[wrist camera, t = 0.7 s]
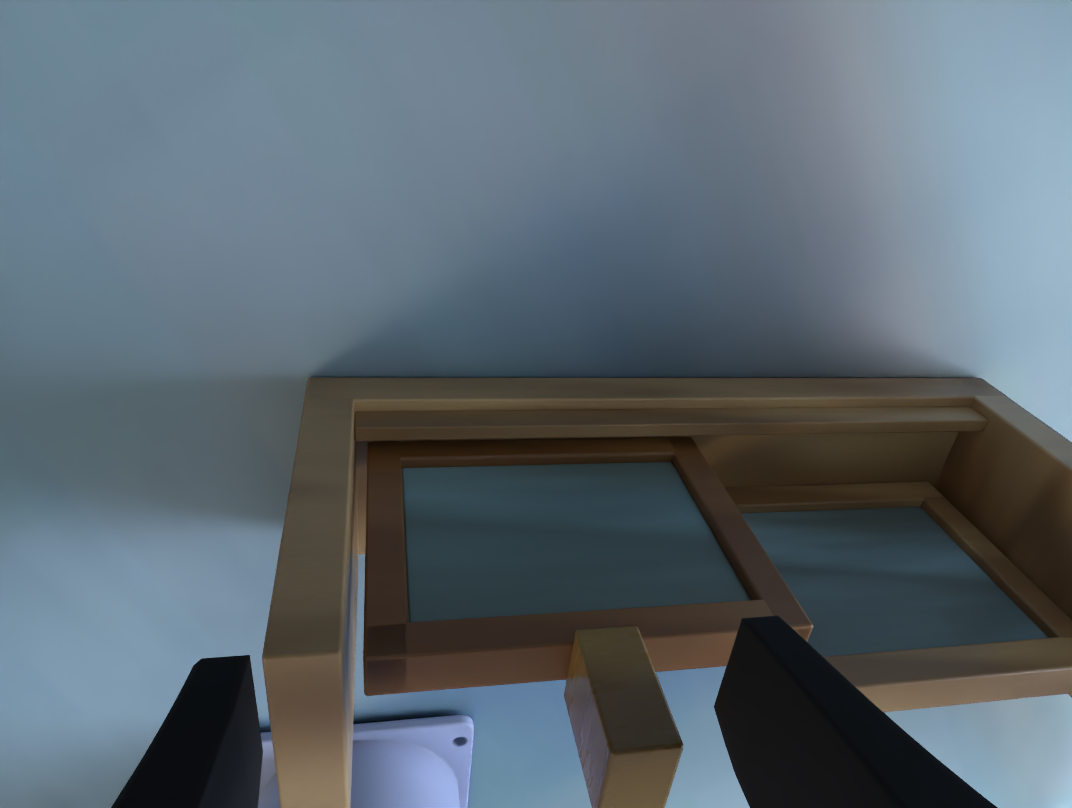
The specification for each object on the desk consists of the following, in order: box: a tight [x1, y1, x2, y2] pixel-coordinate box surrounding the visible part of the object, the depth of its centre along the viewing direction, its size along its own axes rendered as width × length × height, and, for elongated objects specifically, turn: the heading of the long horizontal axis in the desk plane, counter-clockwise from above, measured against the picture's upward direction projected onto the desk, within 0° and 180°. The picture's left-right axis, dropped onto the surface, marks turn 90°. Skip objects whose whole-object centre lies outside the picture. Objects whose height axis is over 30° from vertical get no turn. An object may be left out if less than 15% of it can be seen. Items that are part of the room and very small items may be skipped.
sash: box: [363, 437, 813, 808], centre depth 16 cm, size 2×9×9 cm, turn 84°
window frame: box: [262, 378, 1072, 808], centre depth 19 cm, size 5×20×9 cm, turn 84°
